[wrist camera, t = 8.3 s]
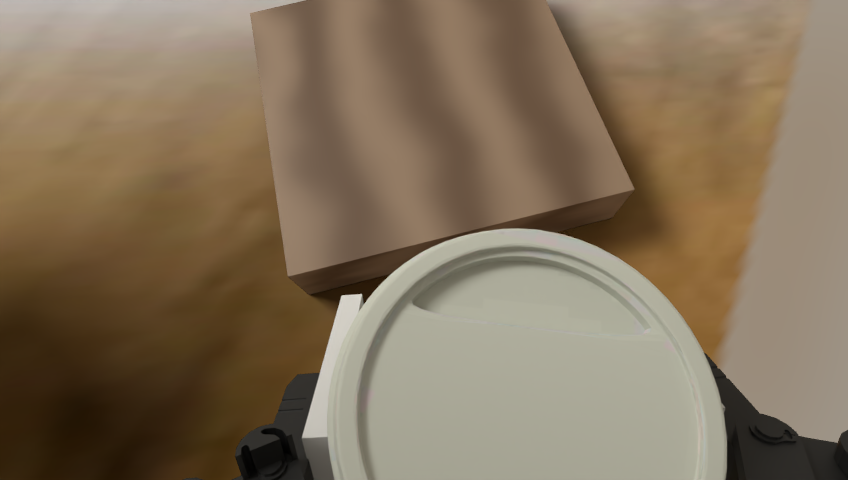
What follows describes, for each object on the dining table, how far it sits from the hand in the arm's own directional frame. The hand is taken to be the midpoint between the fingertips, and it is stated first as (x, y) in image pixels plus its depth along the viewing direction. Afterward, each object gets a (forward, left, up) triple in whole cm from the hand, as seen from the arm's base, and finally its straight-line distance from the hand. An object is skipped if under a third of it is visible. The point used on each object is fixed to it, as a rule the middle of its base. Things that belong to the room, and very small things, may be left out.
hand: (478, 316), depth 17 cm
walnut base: (+1, +16, -11) cm, 19 cm away
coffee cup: (-1, -3, -4) cm, 6 cm away
